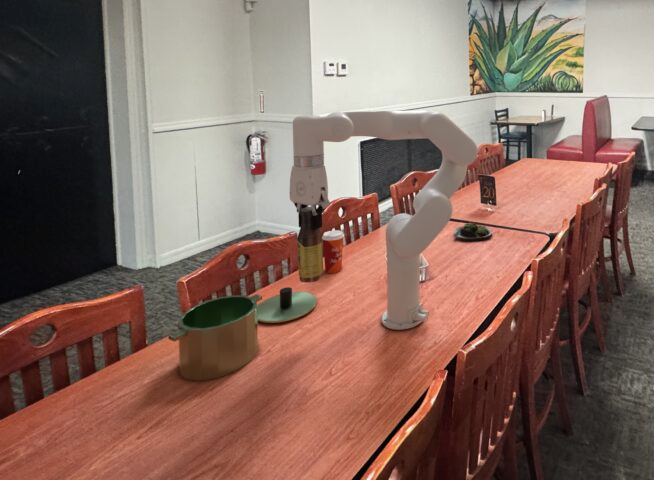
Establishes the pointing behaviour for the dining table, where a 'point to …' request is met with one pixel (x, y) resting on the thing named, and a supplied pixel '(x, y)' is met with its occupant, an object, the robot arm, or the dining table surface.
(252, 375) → the dining table surface
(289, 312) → the tin lid
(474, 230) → the salad plate
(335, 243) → the paper cup
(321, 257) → the sauce bottle
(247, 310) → the cooking pot
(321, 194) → the robot arm
